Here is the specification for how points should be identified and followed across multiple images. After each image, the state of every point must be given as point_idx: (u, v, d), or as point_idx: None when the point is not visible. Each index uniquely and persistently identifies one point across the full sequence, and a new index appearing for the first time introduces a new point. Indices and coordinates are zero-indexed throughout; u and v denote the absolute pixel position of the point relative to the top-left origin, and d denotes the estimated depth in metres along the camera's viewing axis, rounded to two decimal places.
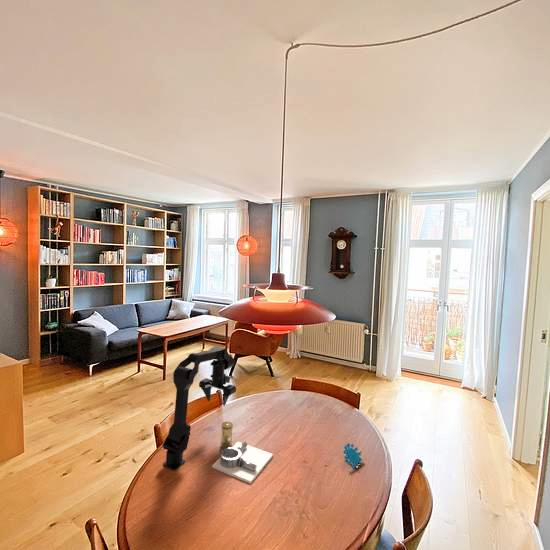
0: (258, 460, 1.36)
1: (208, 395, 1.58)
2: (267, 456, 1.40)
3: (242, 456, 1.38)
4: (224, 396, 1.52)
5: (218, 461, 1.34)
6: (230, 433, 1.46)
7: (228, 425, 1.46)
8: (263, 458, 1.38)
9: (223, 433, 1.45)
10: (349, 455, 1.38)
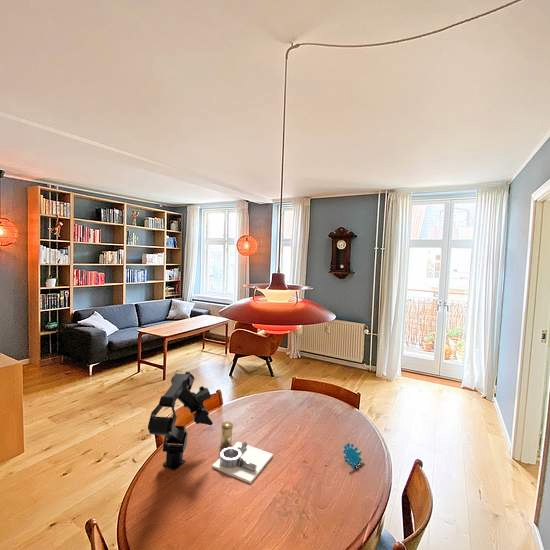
0: (258, 460, 1.36)
1: None
2: (267, 456, 1.40)
3: (242, 456, 1.38)
4: None
5: (218, 461, 1.34)
6: (230, 433, 1.46)
7: (228, 425, 1.46)
8: (263, 458, 1.38)
9: (223, 433, 1.45)
10: (349, 455, 1.39)
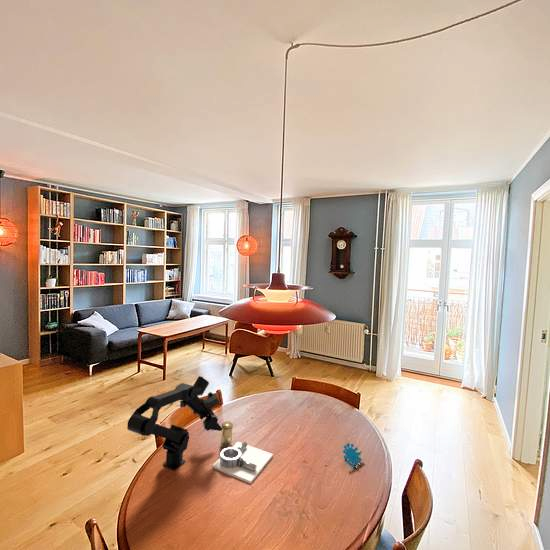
0: (258, 460, 1.36)
1: None
2: (267, 456, 1.40)
3: (242, 456, 1.38)
4: None
5: (218, 461, 1.34)
6: (230, 433, 1.46)
7: (228, 425, 1.46)
8: (263, 458, 1.38)
9: (223, 433, 1.45)
10: (348, 455, 1.39)
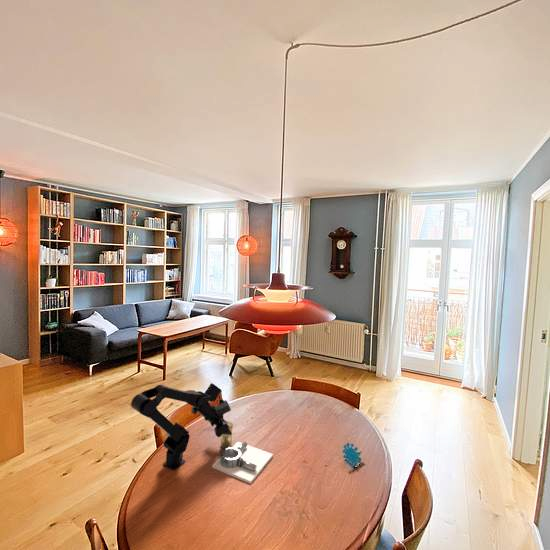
0: (258, 460, 1.36)
1: None
2: (267, 456, 1.40)
3: (242, 456, 1.38)
4: None
5: (218, 461, 1.34)
6: None
7: None
8: (263, 458, 1.38)
9: None
10: (348, 454, 1.39)
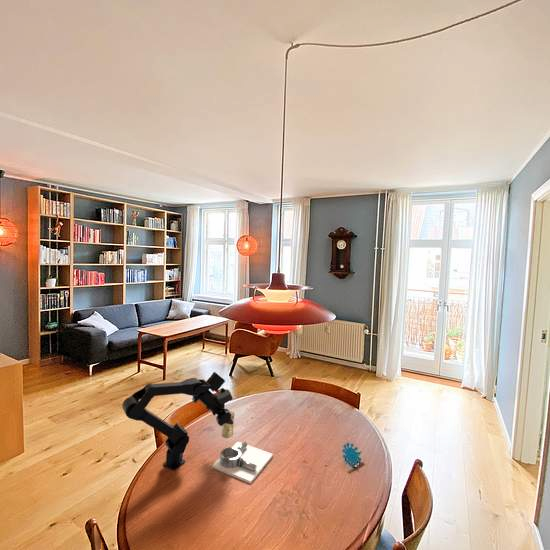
0: (258, 460, 1.36)
1: None
2: (267, 456, 1.40)
3: (242, 456, 1.38)
4: None
5: (218, 461, 1.34)
6: None
7: None
8: (263, 458, 1.38)
9: None
10: (348, 454, 1.39)
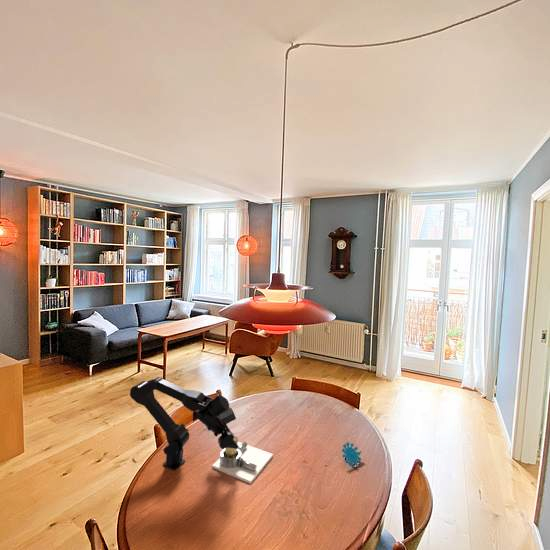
0: (258, 460, 1.36)
1: None
2: (267, 456, 1.40)
3: (242, 456, 1.38)
4: None
5: (218, 461, 1.34)
6: None
7: None
8: (263, 458, 1.38)
9: (227, 448, 1.32)
10: (348, 454, 1.39)
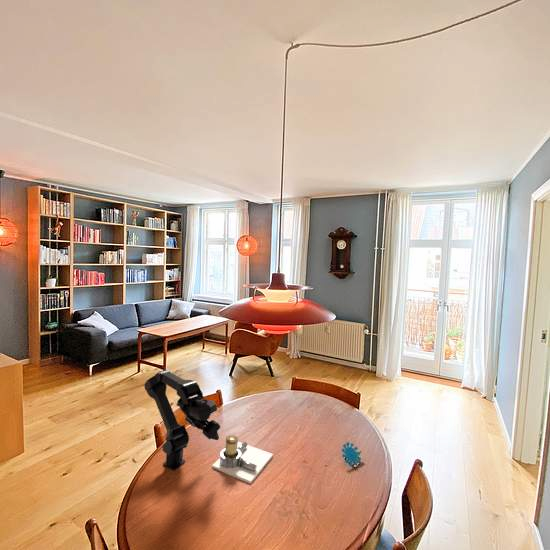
0: (258, 460, 1.36)
1: (201, 427, 1.35)
2: (267, 456, 1.40)
3: (242, 456, 1.38)
4: None
5: (218, 461, 1.34)
6: (235, 448, 1.33)
7: (233, 439, 1.33)
8: (263, 458, 1.38)
9: (227, 448, 1.32)
10: (347, 454, 1.39)
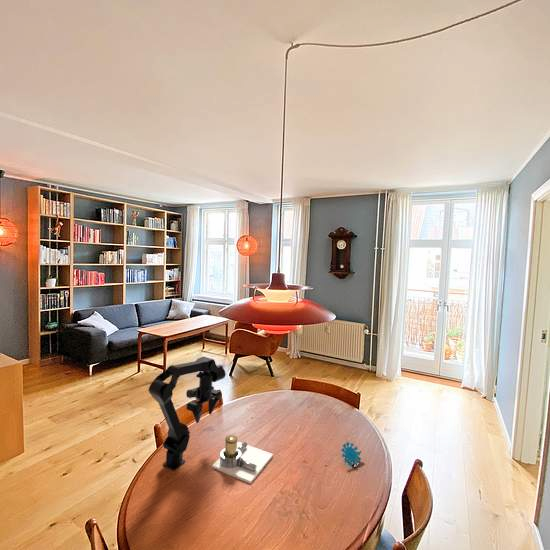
0: (258, 460, 1.36)
1: None
2: (267, 456, 1.40)
3: (242, 456, 1.38)
4: (217, 401, 1.49)
5: (218, 461, 1.34)
6: (235, 448, 1.33)
7: (233, 439, 1.33)
8: (263, 458, 1.38)
9: (227, 448, 1.32)
10: (347, 453, 1.40)
